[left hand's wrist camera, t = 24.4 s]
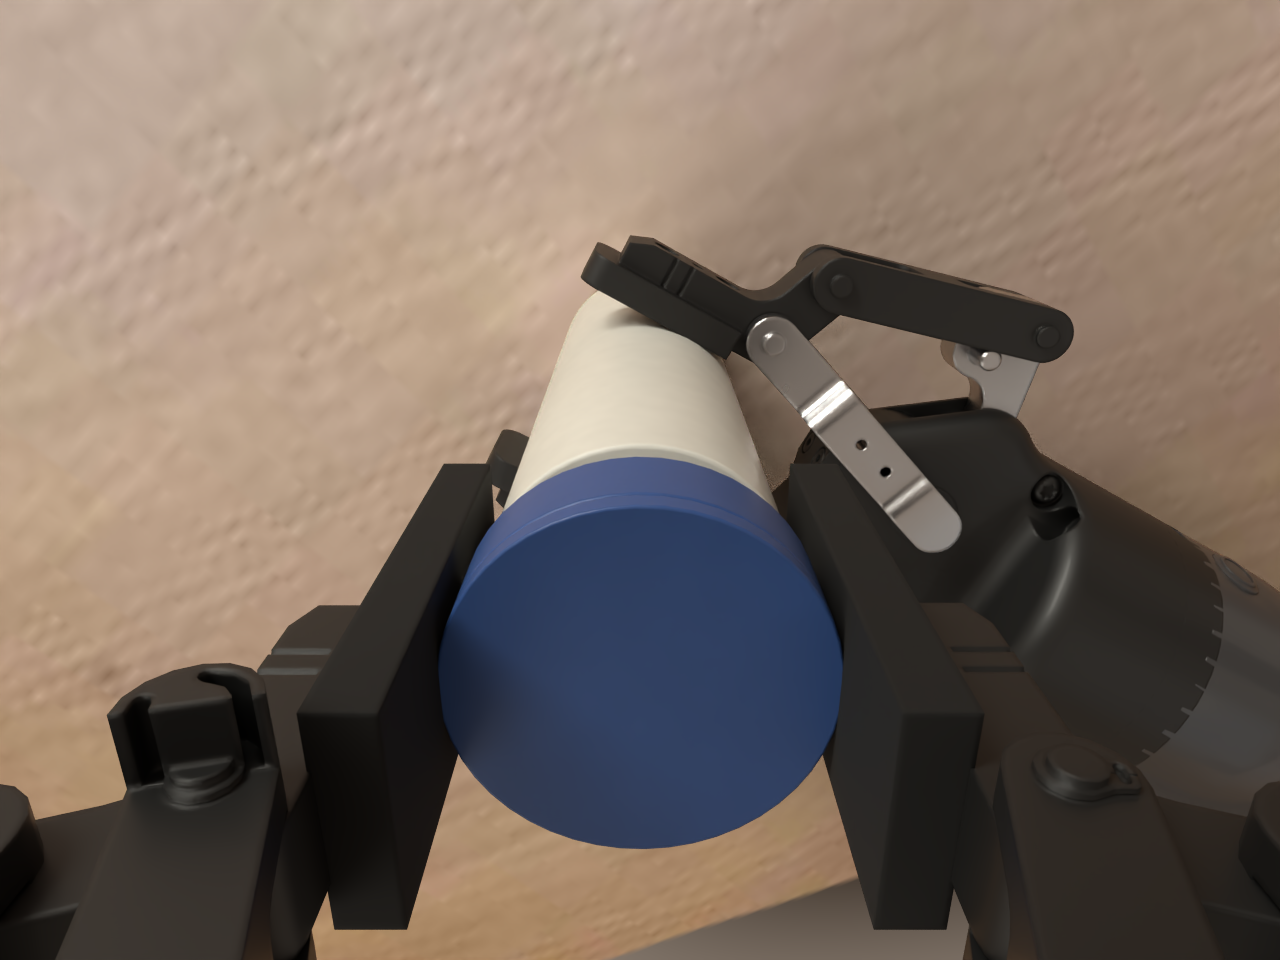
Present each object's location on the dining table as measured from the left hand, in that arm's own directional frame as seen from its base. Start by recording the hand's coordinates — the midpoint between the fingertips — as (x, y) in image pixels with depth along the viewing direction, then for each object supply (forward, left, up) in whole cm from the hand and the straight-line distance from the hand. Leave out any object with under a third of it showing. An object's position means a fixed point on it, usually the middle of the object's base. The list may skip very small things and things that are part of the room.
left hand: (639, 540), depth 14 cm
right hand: (-2, +2, -7) cm, 8 cm away
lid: (0, 0, +4) cm, 4 cm away
